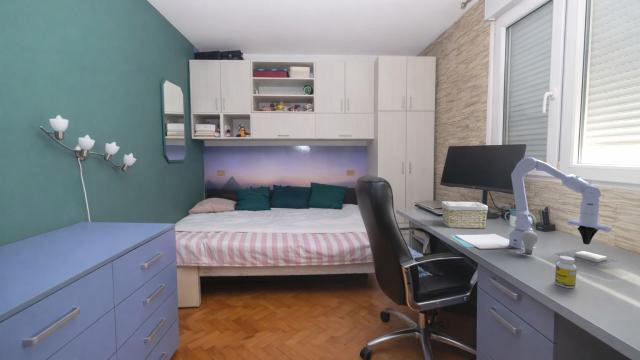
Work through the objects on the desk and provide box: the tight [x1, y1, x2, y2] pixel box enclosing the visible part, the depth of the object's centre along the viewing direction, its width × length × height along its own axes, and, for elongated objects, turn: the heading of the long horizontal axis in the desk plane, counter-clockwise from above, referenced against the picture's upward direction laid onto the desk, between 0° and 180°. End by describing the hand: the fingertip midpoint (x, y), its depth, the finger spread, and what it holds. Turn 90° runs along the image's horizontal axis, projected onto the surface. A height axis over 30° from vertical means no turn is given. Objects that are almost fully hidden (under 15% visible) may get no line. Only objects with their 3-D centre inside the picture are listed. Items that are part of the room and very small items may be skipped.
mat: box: [554, 249, 618, 266], centre depth 123 cm, size 16×15×1 cm
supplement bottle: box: [554, 255, 578, 289], centre depth 97 cm, size 5×5×10 cm
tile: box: [574, 250, 608, 262], centre depth 121 cm, size 7×2×8 cm
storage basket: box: [441, 200, 489, 229], centre depth 181 cm, size 24×16×15 cm
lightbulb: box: [521, 231, 539, 255], centre depth 128 cm, size 6×6×11 cm
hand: (586, 243), depth 123 cm, fingers closed
